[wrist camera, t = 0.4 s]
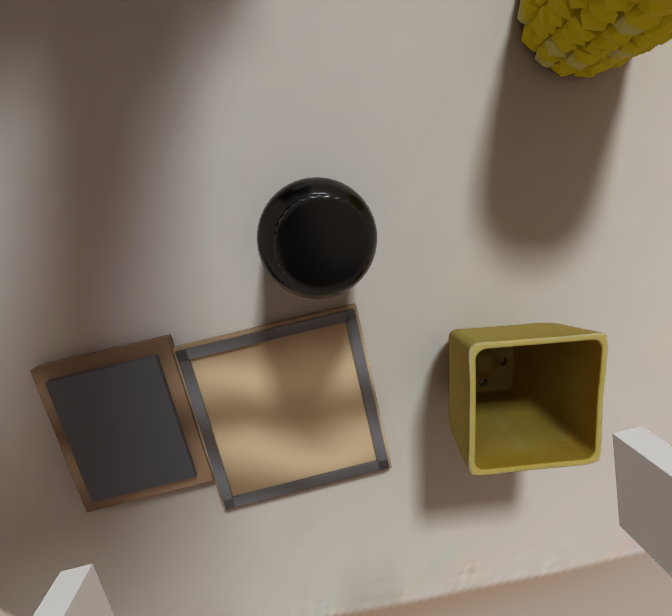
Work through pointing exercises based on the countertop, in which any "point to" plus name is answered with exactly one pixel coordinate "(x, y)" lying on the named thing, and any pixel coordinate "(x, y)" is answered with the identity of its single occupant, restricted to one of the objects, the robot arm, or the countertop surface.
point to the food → (593, 32)
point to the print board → (285, 405)
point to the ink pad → (122, 427)
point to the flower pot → (527, 396)
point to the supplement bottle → (317, 237)
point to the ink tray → (179, 395)
